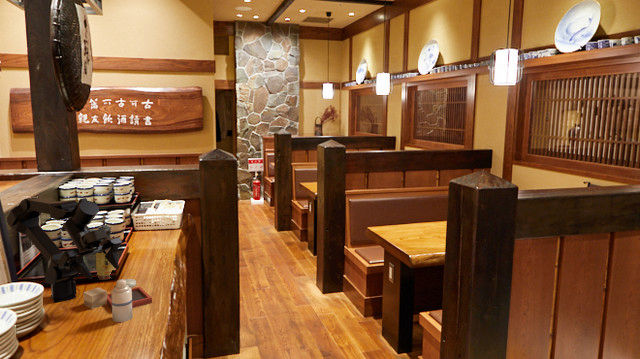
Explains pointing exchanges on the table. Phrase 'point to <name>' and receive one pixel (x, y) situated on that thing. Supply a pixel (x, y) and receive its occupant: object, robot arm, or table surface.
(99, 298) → the wooden masu box
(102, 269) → the sauce bottle
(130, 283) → the glossy white dome
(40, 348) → the table surface
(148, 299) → the lacquer tray
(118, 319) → the white sake bottle
